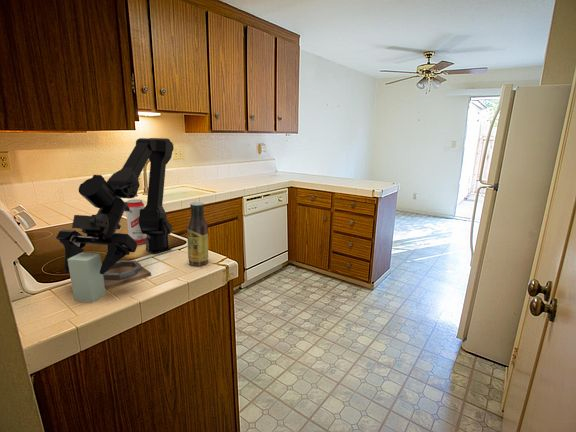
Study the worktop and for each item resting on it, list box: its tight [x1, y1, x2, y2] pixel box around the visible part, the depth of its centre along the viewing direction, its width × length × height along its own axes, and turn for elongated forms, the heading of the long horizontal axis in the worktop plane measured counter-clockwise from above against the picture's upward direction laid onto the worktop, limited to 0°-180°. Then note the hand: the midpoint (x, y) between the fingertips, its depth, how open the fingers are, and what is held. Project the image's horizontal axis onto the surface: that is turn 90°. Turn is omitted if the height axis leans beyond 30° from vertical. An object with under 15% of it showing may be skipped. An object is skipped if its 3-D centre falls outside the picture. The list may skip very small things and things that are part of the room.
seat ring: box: [103, 259, 142, 280], centre depth 90 cm, size 10×10×2 cm
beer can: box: [125, 199, 147, 246], centre depth 115 cm, size 6×6×16 cm
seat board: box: [104, 265, 152, 290], centre depth 91 cm, size 12×12×1 cm
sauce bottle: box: [186, 201, 209, 267], centre depth 98 cm, size 6×6×20 cm
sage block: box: [67, 251, 106, 303], centre depth 77 cm, size 4×5×11 cm
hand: (83, 272), depth 76 cm, fingers open, 9 cm apart
